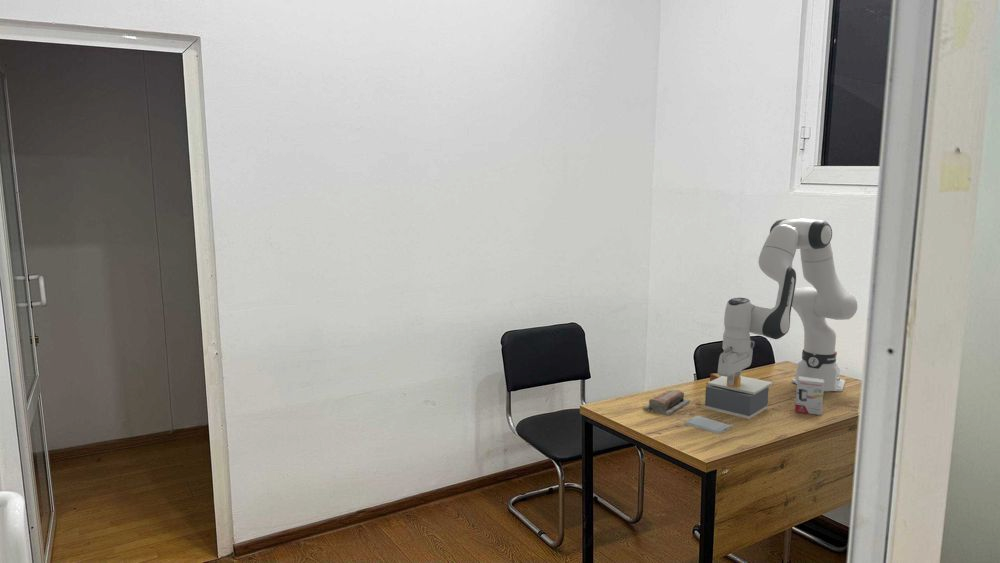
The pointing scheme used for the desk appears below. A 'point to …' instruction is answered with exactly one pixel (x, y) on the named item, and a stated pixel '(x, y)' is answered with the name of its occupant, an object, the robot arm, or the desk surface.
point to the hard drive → (708, 424)
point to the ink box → (809, 395)
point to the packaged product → (667, 402)
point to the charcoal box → (735, 401)
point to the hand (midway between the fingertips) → (733, 383)
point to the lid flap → (741, 384)
